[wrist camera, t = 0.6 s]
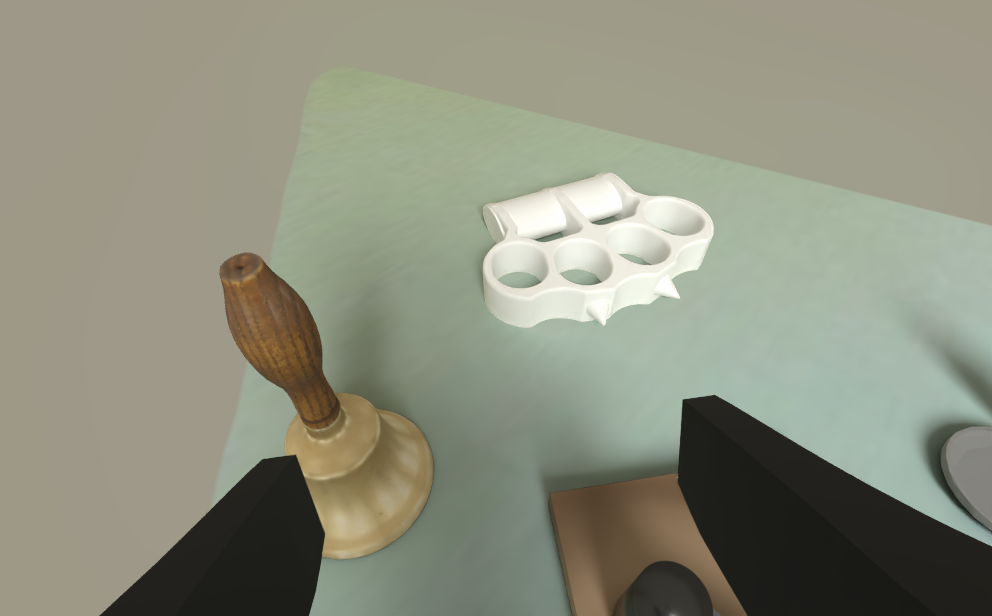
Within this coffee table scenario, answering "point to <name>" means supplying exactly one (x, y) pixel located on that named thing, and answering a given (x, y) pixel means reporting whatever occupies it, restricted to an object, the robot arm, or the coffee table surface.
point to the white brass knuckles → (589, 249)
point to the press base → (629, 542)
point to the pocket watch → (970, 470)
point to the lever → (665, 593)
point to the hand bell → (329, 419)
